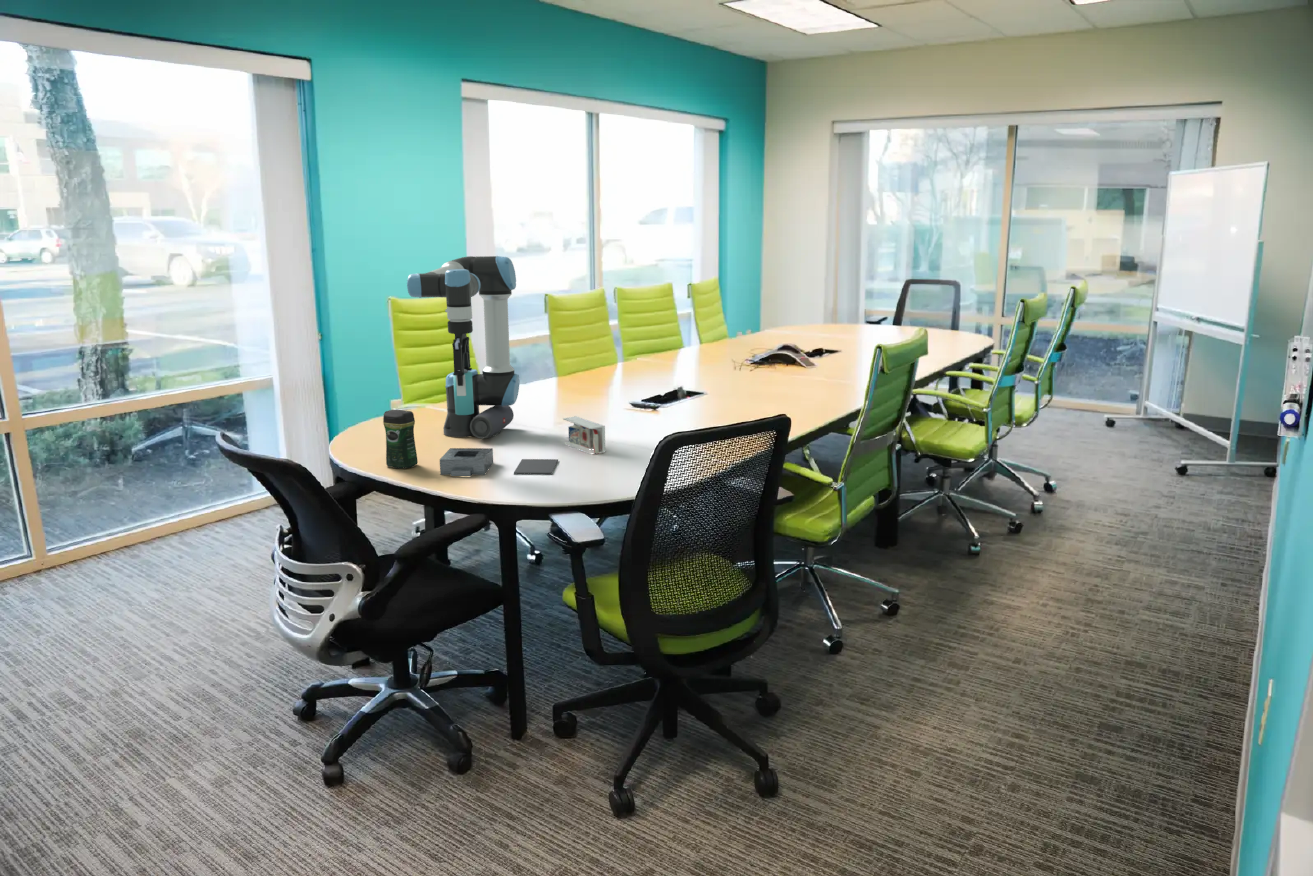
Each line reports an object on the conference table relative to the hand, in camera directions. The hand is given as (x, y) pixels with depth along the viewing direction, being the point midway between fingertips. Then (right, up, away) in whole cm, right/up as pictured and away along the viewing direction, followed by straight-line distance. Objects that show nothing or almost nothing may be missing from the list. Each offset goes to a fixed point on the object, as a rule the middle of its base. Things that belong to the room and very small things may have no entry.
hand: (463, 393), depth 292 cm
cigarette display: (+36, -18, +32) cm, 51 cm away
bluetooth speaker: (0, -13, +50) cm, 52 cm away
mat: (+22, -24, +7) cm, 33 cm away
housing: (0, -24, +6) cm, 25 cm away
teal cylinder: (0, -6, +2) cm, 6 cm away
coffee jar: (-22, -23, +9) cm, 33 cm away
